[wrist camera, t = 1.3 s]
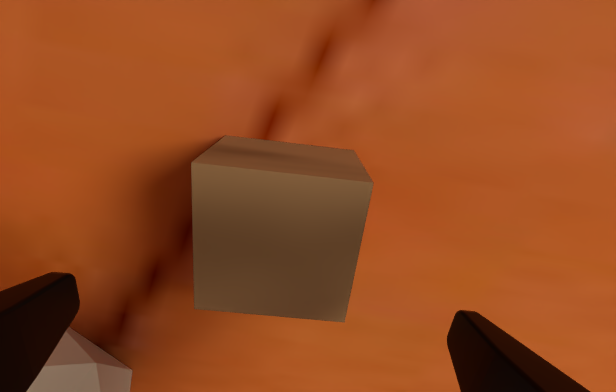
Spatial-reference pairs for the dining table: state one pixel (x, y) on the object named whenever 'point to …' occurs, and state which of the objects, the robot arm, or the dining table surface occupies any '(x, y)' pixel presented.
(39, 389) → the pale faceted polyhedron
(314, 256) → the walnut block
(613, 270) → the dining table surface
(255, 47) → the dining table surface
